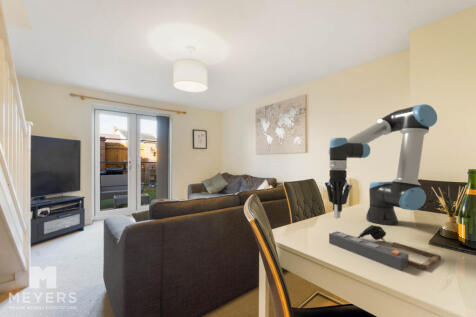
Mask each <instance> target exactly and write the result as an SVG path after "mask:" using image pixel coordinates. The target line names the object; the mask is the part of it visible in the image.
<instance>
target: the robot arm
mask: <svg viewBox="0 0 476 317" xmlns="http://www.w3.org/2000/svg"><path fill="white" fill-rule="evenodd" d="M437 122H438V114H437V111H436V110H435V109H434V107H433V106H432V105H429V104H427V103H426V104H425V103H424V104H418V105H417V104H416V105H414V106H409V107H406V108H402V109H398V110H395V111H392V112H390V113H389V114H387V115H385V116H383V117H382V118H380V119H378V120H376V121H375V124H372V125H371V126H369V127H367V128H365V129H364V130H361V131H360V132H358V133H355V135H353V136H350V137H349V138H348V139H347V138H346V137H332V138H331V139H330V140H329V141H330V142H329V149H328V155H329V174H328V175H329V181H327V182H325V183H324V186H325V187H326V192H327V197H328V201H329V202H330V203H332V211H333V213H334V214H333V217H334V219H341V212H343V205H346V204H347V202H348V198H349V193H350V191H351V189H352V187H353V186H352V184H349V183H348V181H347V167H348V166H347V161H348V159H365V158H367V157H369V156H370V154H371V147H370V145H369V143H371V142H373V141H375V140H377V139H378V138H381V137H382V136H383V135H384V136H386V135H389V134H391V133H394V132H400V133H401V134H402V138H401V145H400V152H399V158H398V166H397V172H396V177H395V179H393V180H392V181H372V182H370V183H369V188H368V189H369V190H368V191H369V192H368V193H369V194H368V195H369V207H368V210H367V213H366V216H365V218H366V221H368V222H371V223H375V224H379V225H385V226H386V225H387V226H396V225H398V224H399V222H398V221H399V219H398V216H397V214H396V211H395V208H399V209H403V210H408V211H417V210H419V209H420V208H422V207H423V206H424V205H425V203H426V200H427V194H426V192H425V191H424V189H422V184H421V183H420V182H419V176H420V175H419V174H420V173H419V172H420V167H421V161H422V160H421V159H422V152H423V146H424V139H425V135H426V134H428V133H429V130H430V127H431V128H432V127H433V126H435V125H436V123H437Z"/></svg>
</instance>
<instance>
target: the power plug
mask: <svg viewBox="0 0 476 317" xmlns="http://www.w3.org/2000/svg"><path fill="white" fill-rule="evenodd" d="M369 235H370V236H371V238H372V239H373V240H374V241H379V240H381V241H383V242H384V243H386V240H385V238H384V237H385V236H386V235H387V232H386V231H385V229H383V227H382V226H380V225H373V224H372V225H369V226H367V227H366V228H365V229H364V230H363V231H362V232H360V234H359V235H358V236H357V238H360V239H361V238H365V237H366V236H369Z"/></svg>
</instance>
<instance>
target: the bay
mask: <svg viewBox="0 0 476 317" xmlns="http://www.w3.org/2000/svg"><path fill="white" fill-rule="evenodd" d="M392 247H394V248H397V249H399V250H400V249H401V250H405V251H407V252H411V253H414V254H418V255H419V256H420V255H422V256H424V257H427V258H428V259H427V260H425V261H424V262H423V263H420V262H418V261H414V260H411V259H409V266H410V267H413V268H416V269H418V270H421V271H424V272H425V271H427V270H428V269H430V268H431V267H432V266H434V265H435V264H437V262H439V261H440V260H442V256H441V255H439V254H435V253H432V252H428V251H426V250H422V249H418V248H416V247H413V246H408V245H406V244H402V243H399V242H396V241H395V242H392ZM409 266H408V267H409Z"/></svg>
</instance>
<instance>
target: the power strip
mask: <svg viewBox="0 0 476 317" xmlns="http://www.w3.org/2000/svg"><path fill="white" fill-rule="evenodd" d="M328 236H329V237H328V242H329V244H331V245H334V246H336V247H338V248H341V249H343V250H346V251H348V252H352V253H354V254H357V255H359V256H361V257H363V258H366V259H370V260H372V261H375V262H377V263H379V264H382V265H384V266H387V267H390V268H391V269H394V270H398V271H403V270H404V269H405V268H408V267H409V260H410V259H409V253H406V252H402V251H399V250H396V249H394V248H390V247H387V246H384V245H383V244H382V245H381V244H379V243H376V242H372V241H369V240H366V239H363V238H361V237H360V238H357V237H358V236H357V237H356V236H353V235H350V234H347V233H344V232H341V231H338V230H336V231H334V232H331V233H328Z"/></svg>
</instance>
